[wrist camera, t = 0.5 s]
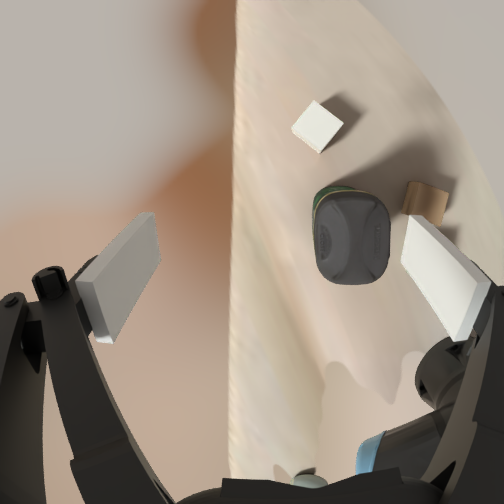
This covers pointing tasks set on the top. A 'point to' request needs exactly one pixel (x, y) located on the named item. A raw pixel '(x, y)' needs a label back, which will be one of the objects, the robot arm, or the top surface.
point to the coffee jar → (350, 235)
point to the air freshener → (308, 481)
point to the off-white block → (316, 126)
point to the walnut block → (425, 202)
